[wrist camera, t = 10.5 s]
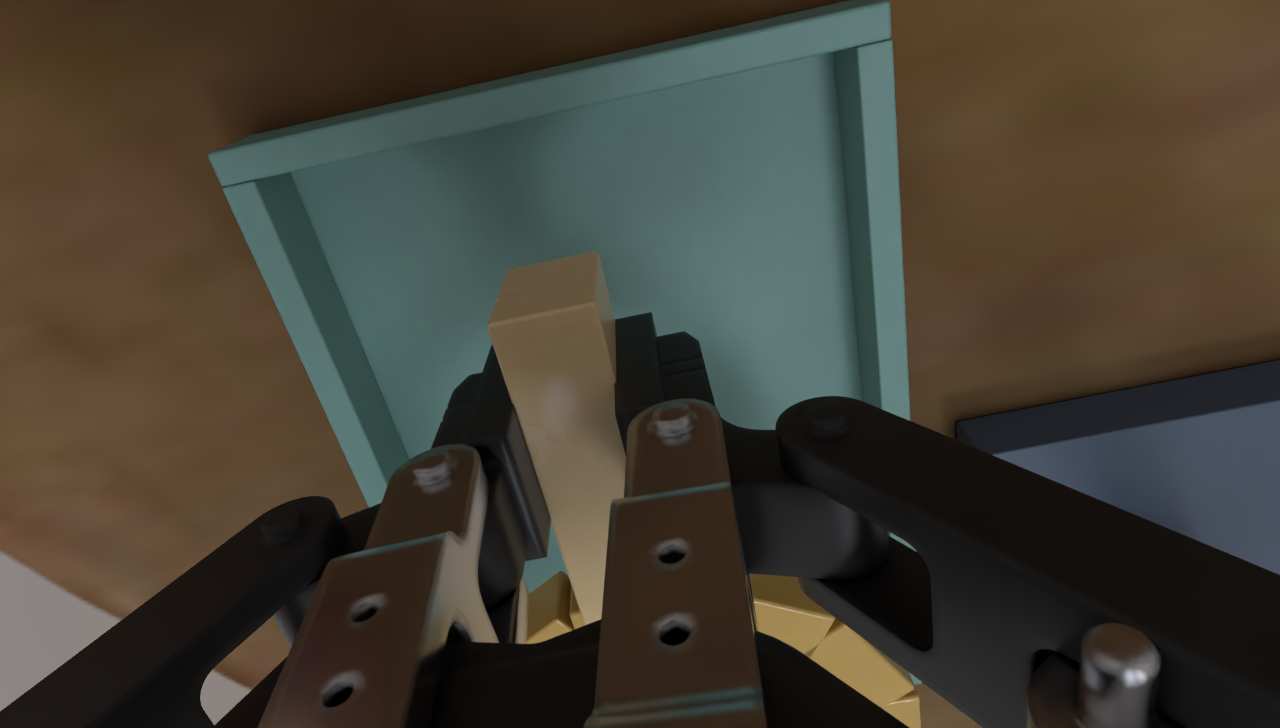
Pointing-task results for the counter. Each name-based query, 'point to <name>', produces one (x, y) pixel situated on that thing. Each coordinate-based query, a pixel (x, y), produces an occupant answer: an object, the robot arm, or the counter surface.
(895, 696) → the ring
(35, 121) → the counter surface
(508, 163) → the key tray
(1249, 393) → the key stand
